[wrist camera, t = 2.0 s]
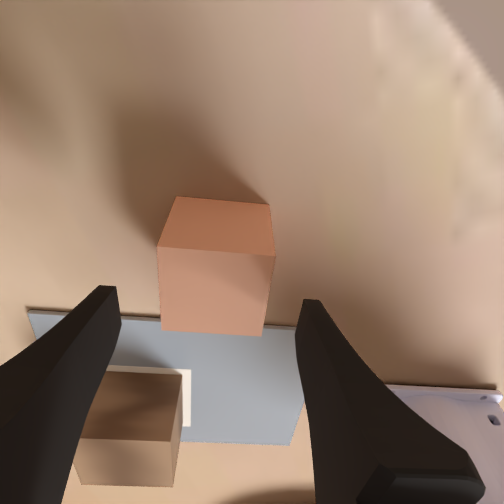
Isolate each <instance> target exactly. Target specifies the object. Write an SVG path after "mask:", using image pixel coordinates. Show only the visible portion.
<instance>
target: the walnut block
mask: <svg viewBox="0 0 504 504" xmlns="http://www.w3.org/2000/svg"><path fill="white" fill-rule="evenodd" d="M182 425H183V391H182V375H173V374H154V373H135V372H116V371H106V372H105V374H104V376H103V379H102V381H101V383H100V386H99V388H98V390H97V392H96V395H95V397H94V399H93V402H92V404H91V407H90V409H89V412H88V415H87V417H86V421H85V424H84V427H83V430H82V433H81V436H80V440H79V443H78V446H77V449H76V453H75V456H74V460H73V464H74V467H75V469H76V472H77V474H78V477H79V479H80V482H81V485H112V486H147V487H173V483H174V477H175V470H176V464H177V457H178V451H179V444H180V438H181V431H182Z"/></svg>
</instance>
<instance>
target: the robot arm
mask: <svg viewBox="0 0 504 504" xmlns="http://www.w3.org/2000/svg"><path fill="white" fill-rule="evenodd" d="M121 326H122V322H121V315H120V309H119V302H118V296H117V289H116V286H103V285H99V286H98V287H97V288H96V289H95V290H93V291H92V292H91V293H90V294H89V295H88V296H87V297H86V298H85V299H84V300H83V301H82V302H81V303H79V304H78V305H77V306H76V307H75V308H74V309H73V310H72V311H71V312H70V313H68V314H67V315H66V316H65V317H64V318H63V319H62V320H60V321H59V322H58V323H57V324H56V325H55V326H53V327H52V328H51V329H50V330H49V331H47V332H46V333H45V334H44V335H42V336H41V337H40V338H39V339H37V340H36V341H35V342H34V343H32V344H31V345H30V346H28V347H27V348H26V349H24V350H23V351H22V352H20V353H19V354H17V355H16V356H14V357H13V358H12V359H10V360H9V361H7V362H6V363H4V364H3V365H1V366H0V504H61V502H62V499H63V495H64V491H65V488H66V484H67V480H68V477H69V473H70V470H71V466H72V463H73V460H74V456H75V453H76V449H77V446H78V443H79V440H80V436H81V433H82V430H83V427H84V424H85V421H86V417H87V415H88V412H89V409H90V407H91V404H92V402H93V399H94V397H95V395H96V392H97V390H98V388H99V386H100V383H101V381H102V379H103V376H104V374H105V372H106V369H107V367H108V365H109V362H110V360H111V357H112V355H113V353H114V350H115V347H116V344H117V341H118V337H119V333H120V330H121ZM295 348H296V359H297V365H298V370H299V375H300V380H301V385H302V390H303V394H304V399H305V404H306V409H307V415H308V421H309V428H310V438H311V448H312V458H313V470H314V482H315V496H316V504H504V412H503V410H502V409H501V407H500V406H499V404H498V403H499V402H500V401H501V400H502V398H503V395H502V394H501V392H500V391H497V390H482V389H463V388H444V387H425V386H406V385H387V384H384V383H383V382H382V381H381V380H380V379H379V378H378V377H377V376H376V375H375V374H374V373H373V372H372V371H371V369H370V368H369V367H368V366H367V365H366V364H365V363H364V361H363V360H362V359H361V358H360V356H359V355H358V354H357V353H356V352H355V350H354V349H353V348H352V346H351V345H350V344H349V342H348V341H347V340H346V338H345V337H344V336H343V334H342V333H341V332H340V330H339V329H338V327H337V326H336V324H335V323H334V321H333V320H332V318H331V317H330V315H329V314H328V312H327V311H326V309H325V308H324V306H323V305H322V303H321V302H320V301H319V300H310V299H304V300H303V304H302V308H301V312H300V316H299V320H298V324H297V327H296V331H295Z"/></svg>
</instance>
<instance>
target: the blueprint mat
mask: <svg viewBox="0 0 504 504" xmlns="http://www.w3.org/2000/svg"><path fill="white" fill-rule="evenodd" d="M68 313H70V312H56V311H41V310H29V312H28V313H27V314H28V317H29V320H30V322H31V325H32V328H33V331H34V333H35V336H36V339H39V338H40V337H41V336H42V335H44V334H45V333H46V332H47V331H49V330H50V329H51V328H52V327H53V326H55V325H56V324H57V323H58V322H59V321H60V320H62V319H63V318H64V317H65V316H66V315H67V314H68ZM121 322H122V326H121V330H120V333H119V337H118V341H117V344H116V347H115V350H114V353H113V355H112V357H111V360H110V362H109V365H108V367H107V369H106V371H116V372H135V373H154V374H173V375H182V391H183V425H182V431H181V438H180V441H181V442H207V443H233V444H259V445H285V446H290V443H291V440H292V436H293V433H294V430H295V427H296V424H297V421H298V418H299V415H300V412H301V409H302V406H303V403H304V400H305V399H304V394H303V390H302V385H301V380H300V375H299V370H298V365H297V359H296V348H295V331H296V327H290V326H274V325H263V331H262V336H261V337H260V336H244V335H228V334H212V333H195V332H179V331H163V330H161V318H150V317H134V316H121Z"/></svg>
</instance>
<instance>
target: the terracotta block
mask: <svg viewBox="0 0 504 504" xmlns="http://www.w3.org/2000/svg"><path fill="white" fill-rule="evenodd" d="M275 257H276V254H275V247H274V239H273V231H272V223H271V215H270V208H269V205H268V204H257V203H246V202H235V201H224V200H213V199H202V198H191V197H179V196H176V198H175V201H174V203H173V206H172V208H171V211H170V214H169V216H168V219H167V221H166V224H165V226H164V229H163V232H162V234H161V237H160V239H159V242H158V244H157V262H158V279H159V296H160V313H161V330H163V331H179V332H195V333H212V334H228V335H244V336H260V337H261V336H262V331H263V325H264V319H265V314H266V308H267V302H268V297H269V291H270V285H271V280H272V274H273V268H274V263H275Z"/></svg>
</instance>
